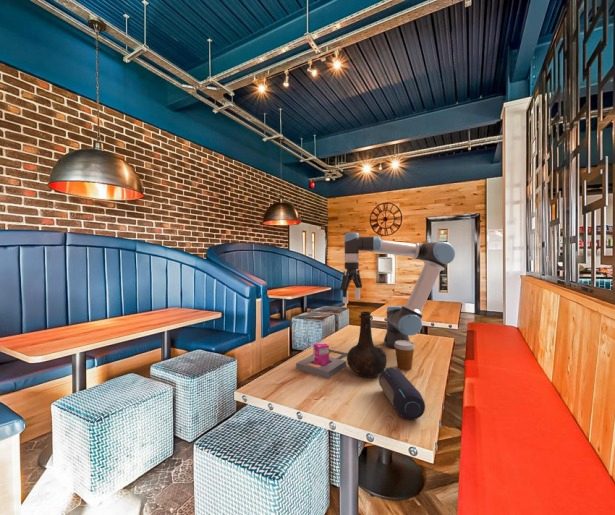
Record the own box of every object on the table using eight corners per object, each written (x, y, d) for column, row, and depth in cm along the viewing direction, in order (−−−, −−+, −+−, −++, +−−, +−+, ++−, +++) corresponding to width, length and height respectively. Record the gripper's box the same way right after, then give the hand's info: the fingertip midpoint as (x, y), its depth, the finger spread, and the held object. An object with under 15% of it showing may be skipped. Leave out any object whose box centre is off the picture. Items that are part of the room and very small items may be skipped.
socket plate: (346, 367, 143) (346, 360, 143) (328, 378, 130) (328, 371, 130) (315, 359, 154) (315, 352, 154) (296, 369, 141) (296, 362, 141)
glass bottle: (382, 384, 124) (382, 317, 124) (341, 377, 132) (341, 314, 131) (389, 369, 140) (389, 310, 140) (352, 363, 148) (352, 307, 147)
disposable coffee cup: (396, 362, 148) (396, 338, 148) (416, 366, 143) (416, 341, 143) (391, 369, 140) (391, 344, 140) (412, 373, 135) (412, 347, 135)
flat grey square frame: (348, 354, 161) (348, 353, 161) (334, 362, 149) (334, 361, 149) (325, 349, 170) (325, 348, 170) (310, 356, 158) (310, 355, 158)
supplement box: (312, 367, 143) (312, 343, 143) (323, 365, 146) (323, 341, 146) (318, 371, 138) (318, 347, 138) (329, 369, 141) (329, 345, 141)
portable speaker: (376, 388, 121) (376, 364, 121) (400, 388, 121) (400, 363, 121) (398, 424, 96) (398, 394, 95) (428, 424, 96) (428, 393, 96)
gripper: (356, 261, 172) (356, 297, 172) (333, 262, 152) (333, 304, 152) (368, 261, 167) (368, 298, 168) (346, 262, 147) (346, 305, 148)
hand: (351, 301), depth 160 cm, fingers open, 13 cm apart
